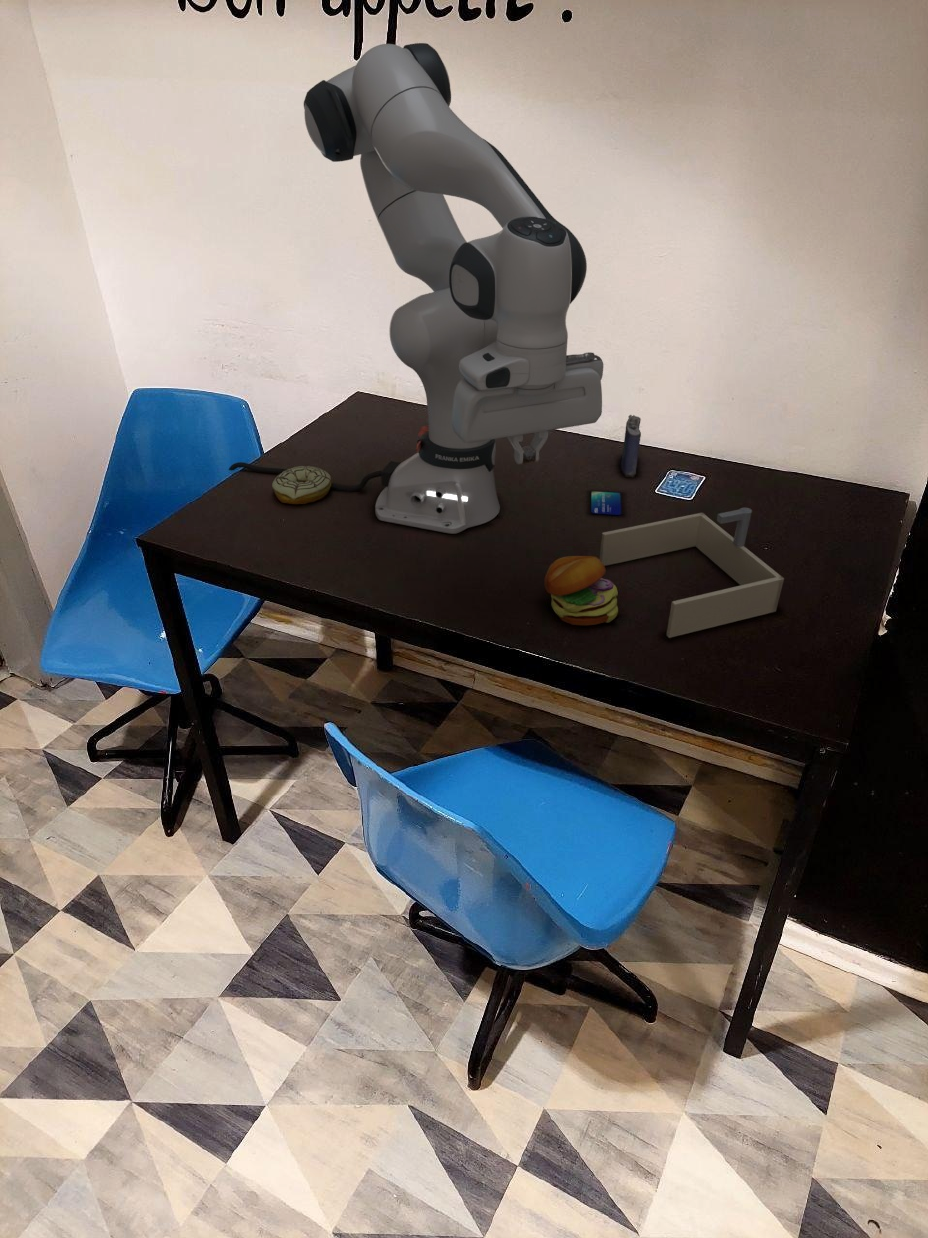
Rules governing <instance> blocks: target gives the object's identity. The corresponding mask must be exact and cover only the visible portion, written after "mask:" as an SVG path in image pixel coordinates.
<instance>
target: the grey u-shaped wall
mask: <svg viewBox="0 0 928 1238" xmlns="http://www.w3.org/2000/svg"><path fill="white" fill-rule="evenodd" d="M752 513H753V510H752V509H751V508H750V507H741V508H738V509H735V510H729V511H726V512H720V513H717V517H716V522H718V523H719V524H720V525H723V524H729V523H733V522H736V527H735V532H734V536H732V535H730V534H729V532H727V531H726V530H725V529H723V528H722V527H721V526H720V525H718V523H716V522H715V521H713V520H712V519H711V518H709V517H708V516H707V515H706V514H705V513H704V512H697V513H693V514H690V515H689V514H688V515H682V516H678V517H673V518H668V519H663V520H658V521H654V522H653V521H652V522H649V523H644V524H640V525H639V524H638V525H634V526H629V527H624V528H619V529H614V530H609V531H603V532H602V533H601V541H600V550H599V558H598V559H599V560H600V561H601V562H602V564H603V565H604V566H605V567H607V566H610V565H615V564H619V563H620V564H621V563H624V562H629V561H633V560H638V559H644V558H648V557H652V556H658V555H661V554H667V553H671V552H676V551H680V550H685V549H689V548H690V549H691V548H694V547H696V548H697V549H698V550H699V551H700V552H701V553H703V555H704V556H706V557H707V558H708V559H709V560H710V561H712V562H713V564H715V565H716V566H717V567H719V568H720V569H721V570H722V571H723V572H724V573H726V574H727V575H728V576H729V577H730V578H731V579H732V580H733V581H735V582H736V583H737V584H738V585H736V586H733V587H728V588H724V589H720V590H716V591H711V592H707V593H703V594H698V595H694V596H690V597H686V598H681V599H677V600H673V601H671V604H670V610H669V615H668V616H669V617H668V623H667V629H666V633H665V634H666V637H667V638H669V639H671V638H675V637H679V636H684V635H686V634H690V633H695V632H699V631H703V630H707V629H711V628H715V627H720V626H723V625H727V624H731V623H735V622H738V621H743V620H747V619H748V620H749V619H752V618H755V617H759V616H763V615H769V614H772V613H776V612H777V609H778V604H779V601H780V597H781V593H782V589H783V585H784V581H785V578H784V577H783V576H782V575H781V574H779V573H778V572H777V571H776V570H774V569H773V568H772V567H771V566H769V565H768V564H767V563H765V562H764V561H763V560H762V559H761V558H759V556H757V555H756V554H754V553H753V552H752V551H750V550H749V549H748V548H747V547H746V541H747V537H748V532H749V527H750V523H751V518H752Z"/></svg>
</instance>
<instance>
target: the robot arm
mask: <svg viewBox="0 0 928 1238" xmlns="http://www.w3.org/2000/svg"><path fill="white" fill-rule="evenodd" d="M451 102H452V89H451V80H450V76H449V73H448V70H447V67H446V64H445V63H444V61H443V60H442V58H441V56H440V54H439V52H438V51H437V50H436V49H435V48H434V47H433V46H432V45H430V44H429V43H427V42H419V43H418V42H417V43H409V44H405V45H404V46H403V47H401V46H400V45H397V44H395V43H394V44H393V43H382V44H381V43H380V44H378V45H375V46H373V47H371V48H370V49H368V50H367V51H366V52H364V53H363V54H362V56H361V57H360V58H359V60H357V63H356V64H355V65H353V66H351V67H349V68H347V69H346V70H342V71H341V72H340V73H338V74H336V75H334V76H332V77H331V78H329V79H327V80H325V79H322V80H321V81H319V82H318V83H316V84H315V85H313V87H310V89H309V90H308V91H307V92H306V94H305V97H304V100H303V110H304V112H303V113H304V124H305V127H306V131H307V133H308V136H309V138H310V140H311V142H312V143H313V145H314V146H315V147H316V148H317V150H318V151H319V152H320V153H321V155H322V156H323V157H324V158H326V159H327V160H329V161H331V162H333V163H338V162H339V163H340V162H346V161H350V160H353V159H354V157H355V156H360V158H359V165H360V166H359V167H360V171H361V175H362V179H363V183H364V187H365V190H366V194H367V197H368V200H369V203H370V206H371V208H372V211H373V213H374V216H375V218H376V220H377V223H378V225H379V227H380V230H381V232H382V234H383V236H384V238H385V241H386V243H387V246H388V247H389V250H390V252H391V254H392V256H393V259H394V261H395V263H396V265H397V266H398V268H399V269H400V270H401V271H402V272H404V273H405V274H407V275H409V276H412V277H414V278H416V279H419V280H420V281H422V282H423V283H424V284H426V286H427V287H428V288H430V289H431V291H432V292H427V293H425V294H421V295H417V296H416V297H415V298H412V299H410V300H408V301H407V302H406V303H404V304H403V305H401V306H399V307H398V308H396V309H395V311H394V312H393V313H392V315H391V318H390V322H389V330H388V332H389V334H388V335H389V342H390V344H391V348H392V350H393V351H394V353H395V355H396V357H397V358H398V360H400V361H401V362H402V363H403V364H404V365H405V366H406V367H408V368H410V369H411V370H413V371H414V372H415V373H416V374H417V376H418V378H419V379H420V382H421V383H422V386H423V389H424V393H425V397H426V407H427V408H426V410H427V425H422V426H421V427H420V429H419V431H418V438H417V439H416V440H417V442H416V443H417V444H416V453H414V454H413V455H411V456H410V457H408V458H406V459H405V460H403V461H401V462H400V461H394V460H391V461H389V462H388V463H387V464H386V466H385V467H384V468H383V469H381V470H378V471H374V472H371V473H369V474H367V475H365V476H364V477H363V478H362V480H361V482H360V483H359V484H358V485H353V486H352V485H351V486H347V485H346V486H345V485H340V484H336V483H332V482H331V487H330V490H335V491H341V492H358V491H361V490H363V489H364V488H365V487H366V486H367V483H368V482H369V481H370V480H372V479H375V478H379V477H380V483H381V487H384V488H383V489H382V490H381V492H380V493H379V495H378V497H377V498H376V501H375V507H374V508H375V509H374V513H375V517H376V518H377V519H378V520H379V521H382V522H387V523H392V524H396V525H397V524H398V525H402V526H407V527H412V528H413V527H414V528H418V529H422V530H423V529H424V530H429V531H433V532H440V533H445V534H451V535H452V534H453V535H456V534H459V533H461V532H463V531H465V530H467V529H468V528H473V527H476V526H481V525H483V524H486V523H489V522H490V521H492V520H493V519H495V518H496V517H497V515H499V513H500V510H501V505H500V501H499V498H498V494H497V489H496V484H495V483H496V482H495V476H494V474H495V473H494V468H495V464H496V453H497V451H496V448H497V447H496V445H497V444H496V440H498V439H503V438H504V439H505V438H507V440H508V442H509V443H510V444H511V446H512V448H513V451H514V452H513V459H514V462H515V463H516V464H517V465H523V464H529V463H533V462H534V463H535V462H539V460H540V450H542V448H543V446H544V445H545V444H546V442H547V440H548V438H549V432H550V431H553V430H560V429H565V428H572V427H579V426H586V425H591V424H595V423H597V421H598V420H599V419H600V417H601V416H602V414H603V389H602V379H603V376H604V375H603V374H604V361H603V359H602V358H601V357H600V356H599V355H598V354H595V353H594V352H592V351H591V352H584V353H579V354H577V353H576V354H575V353H574V354H568V342H569V341H568V339H569V332H568V328H567V315H568V311H569V308H570V307H571V304H572V303H573V302H574V300H575V299H576V298H577V297H578V295H579V293H580V292H581V290H582V288H583V285H584V283H585V279H586V277H587V270H588V269H587V268H588V264H587V257H586V254H585V251H584V249H583V246H582V244H581V243H580V241H579V239H578V238H577V237H576V236H575V234H574V233H573V232H572V231H571V230H570V229H569V228H568V227H567V226H566V225H564V224H562V223H561V222H560V221H558V220H557V219H556V218H555V217H554V216H553V215H552V214H551V213H550V211H549V210H548V209H547V208H546V207H545V206H544V205H543V203H542V202H541V200H540V199H539V198H538V197H537V196H536V194H535V193H534V191H533V190H532V189H531V187H529V185H528V184H527V183H526V181H525V180H524V179H523V178H522V176H521V175H520V174H519V173H518V171H517V170H516V169H515V167H514V166H513V165H512V164H511V162H509V160H508V159H507V158H506V157H505V155H503V153H502V152H501V151H500V150H499V149H498V148H497V147H496V146H494V145H493V144H491V142H489V141H487V139H485V138H483V137H482V136H480V135H479V134H478V133H476V132H475V131H473V129H472V128H470V127H469V126H468V125H467V124H466V123H464V121H463V120H462V119H460V117H459V116H458V115H457V114H456V113H455V112H454V110H453V109H452V108H451V107H450V106H451ZM445 196H450V197H456V198H459V199H462V200H463V199H464V200H467V201H470V202H473V203H475V204H477V205H480V206H481V207H483V208H485V209H486V211H488V212H489V213H490V215H492V217H493V219H495V221H496V222H497V223H498V224H499V226H500V227H501V228H502V229H501V230H500V231H498V232H496V233H494V234H491V235H488V236H484V237H480V238H475V239H472V240H469V241H467V240H466V238H465V237H464V235H463V233H462V232H461V230H460V228H459V225H458V224H457V222H456V219H455V218H454V214H453V213H452V211H451V208H450V206H449V204H448V202H447V199H446V198H445ZM529 434H534V436H533V438H532V439H531V441H530V443H529V445H525V446H524V445H523V446H522V445H521V444H520V443H521V442H523V441H524V435H529ZM238 468H242V469H247V470H249V471H250V470H251V471H253V472H257V473H266V474H277V475H280V474H281V473H282V472H283V471H286V470H288V469H289V468H288V469H286V468H277V467H266V466H265V467H264V466H259V465H254V464H252V463H251V464H250V463H247V462H241V461H240V462H235V463H233V464H231V465H230V466H229V468H228V471H235V470H236V469H238Z"/></svg>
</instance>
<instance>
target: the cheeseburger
mask: <svg viewBox="0 0 928 1238" xmlns="http://www.w3.org/2000/svg"><path fill="white" fill-rule="evenodd" d="M599 559H600V558H598V557H597V556H594V555H568V556H563V557H562V556H561V557H559V558H557V559H555V560H554V562H553V563H551V564H550V565H549V567H548V569H547V572H546V574H545V577H544V588H545V590H546V592H547V593H548V594H550V598H551V602H550V603H551V604H550V606H551V608H552V609H553V611H554V613H555V614H556V615H557V616H558V617H559V619H560V620H561V622H565V623H567V624H570V625H573V626H595V625H600V624H603V623H606V624H608V623H611V622H612V621H614V619H615V618H616V617H617V616H618V614H619V607H618V598H617V596H619V595H618V594H619V591H618V588H617V586H616V584H614V582H613V581H612V580H610V579H607V578H603V577H604V575H605V574H606V571H607V569H606V566H604V565H603V564H602V562H601V561H600V560H599Z"/></svg>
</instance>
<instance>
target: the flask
mask: <svg viewBox="0 0 928 1238" xmlns="http://www.w3.org/2000/svg"><path fill="white" fill-rule="evenodd" d="M641 421H642V418H641V417H639V416H636V415H634V414H633V415H632V414H629V415H628V419H627V421H626V423H625V429H624V430H625V432H624V439H623V449H622V455H621V462H620V468H621V473H622V474H623V476H624V477H627V478H634V477H635V476H636V475H637V465H638V460H639V459H638V457H639V449H640V444H641V437H642V432H641V430H640V425H641Z"/></svg>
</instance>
